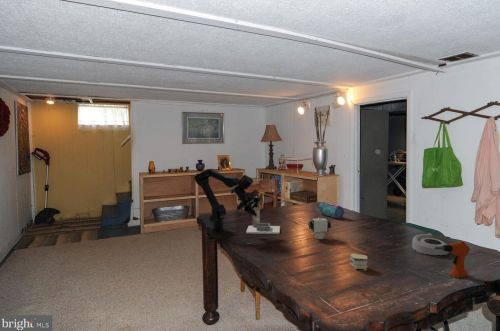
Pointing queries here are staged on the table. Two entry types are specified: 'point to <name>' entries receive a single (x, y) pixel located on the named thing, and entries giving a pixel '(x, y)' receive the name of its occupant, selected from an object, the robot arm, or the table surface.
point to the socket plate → (263, 229)
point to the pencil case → (331, 210)
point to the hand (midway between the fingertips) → (258, 214)
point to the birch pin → (256, 217)
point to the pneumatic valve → (319, 227)
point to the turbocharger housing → (428, 245)
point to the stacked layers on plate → (358, 261)
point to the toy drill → (457, 257)
